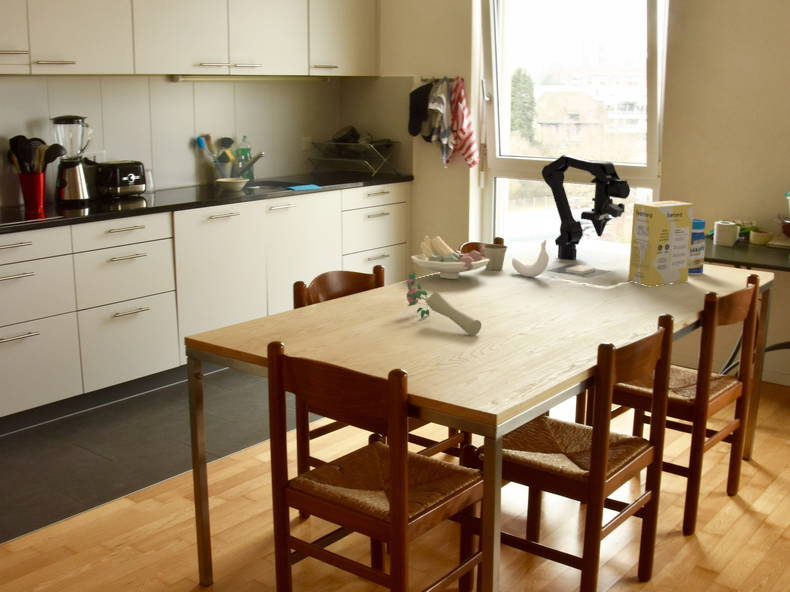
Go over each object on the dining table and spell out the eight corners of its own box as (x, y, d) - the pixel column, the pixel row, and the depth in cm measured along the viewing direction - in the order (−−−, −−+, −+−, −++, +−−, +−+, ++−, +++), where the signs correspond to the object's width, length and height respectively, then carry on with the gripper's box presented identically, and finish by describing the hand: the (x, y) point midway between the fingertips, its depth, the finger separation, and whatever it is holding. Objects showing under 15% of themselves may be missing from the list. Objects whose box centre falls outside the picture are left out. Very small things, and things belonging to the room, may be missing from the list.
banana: (514, 271, 331) (516, 232, 327) (551, 280, 316) (553, 239, 312) (505, 272, 328) (506, 233, 324) (542, 281, 313) (543, 241, 310)
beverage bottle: (701, 271, 332) (706, 218, 327) (704, 276, 324) (709, 222, 319) (678, 270, 333) (682, 218, 329) (681, 275, 325) (685, 221, 321)
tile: (578, 268, 332) (565, 271, 326) (579, 265, 332) (565, 268, 326) (595, 271, 328) (581, 274, 321) (595, 267, 327) (582, 271, 321)
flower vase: (459, 361, 247) (389, 309, 272) (493, 343, 252) (421, 294, 277) (456, 328, 241) (384, 278, 266) (490, 309, 246) (417, 262, 271)
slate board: (545, 272, 328) (546, 270, 328) (569, 266, 339) (569, 264, 339) (587, 280, 316) (587, 277, 316) (610, 273, 327) (611, 271, 327)
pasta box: (665, 276, 323) (671, 200, 317) (687, 281, 314) (694, 203, 308) (628, 281, 315) (633, 203, 308) (650, 287, 306) (656, 207, 299)
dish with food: (427, 267, 337) (427, 230, 334) (497, 273, 327) (498, 235, 323) (399, 281, 312) (399, 242, 309) (475, 288, 302) (476, 248, 298)
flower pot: (510, 268, 336) (511, 245, 334) (500, 272, 328) (500, 249, 326) (488, 265, 341) (489, 243, 339) (477, 269, 333) (478, 247, 331)
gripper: (606, 200, 322) (603, 242, 326) (634, 196, 334) (631, 236, 338) (581, 196, 330) (578, 237, 334) (609, 192, 342) (606, 232, 346)
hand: (599, 236), depth 338 cm, fingers closed
